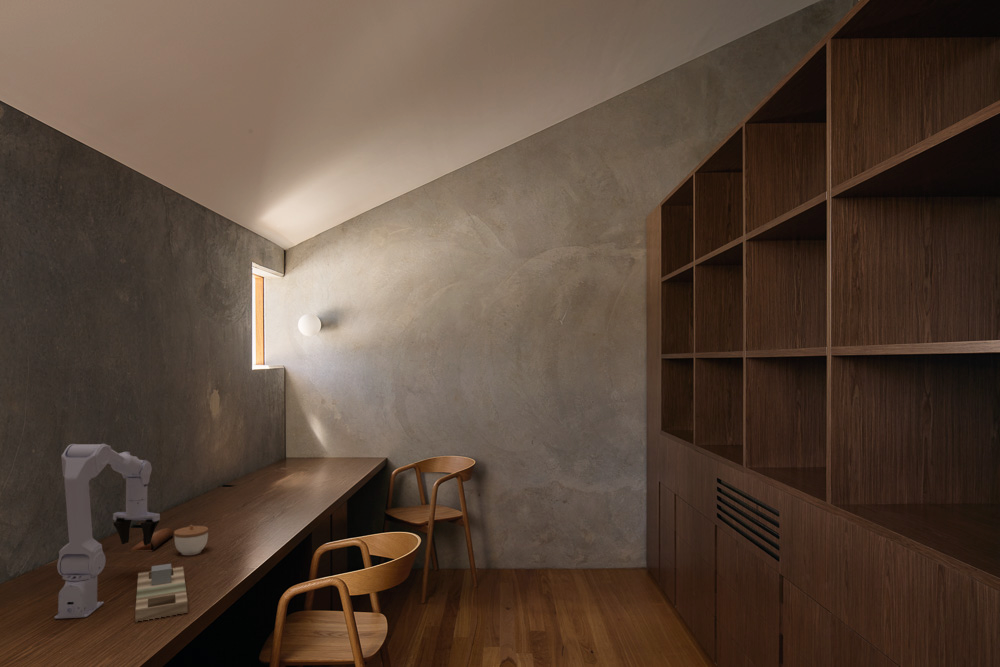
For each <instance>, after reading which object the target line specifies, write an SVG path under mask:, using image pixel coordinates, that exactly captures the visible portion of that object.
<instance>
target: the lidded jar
mask: <svg viewBox="0 0 1000 667" xmlns="http://www.w3.org/2000/svg"><path fill="white" fill-rule="evenodd" d="M173 538H174V541H173V542H174V545H175V546H174V547H175V548H176V550H177V552H179V553H180V554H181V555H183V556H195V555H198V554H200V553H202V550H204V548H205V547H206V545H207V543H208V540H209V528H208V526H205V525H193V524H190V525H189V526H185V527H181V528H178V529H175V530H173Z"/></svg>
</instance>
